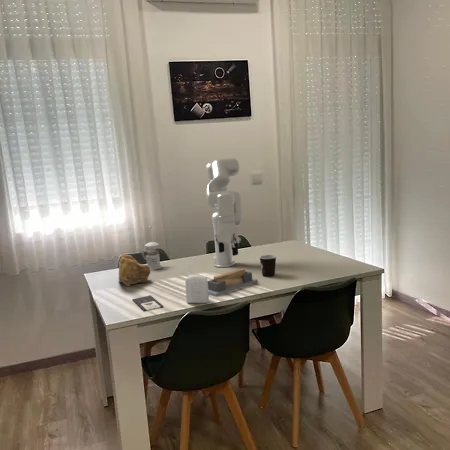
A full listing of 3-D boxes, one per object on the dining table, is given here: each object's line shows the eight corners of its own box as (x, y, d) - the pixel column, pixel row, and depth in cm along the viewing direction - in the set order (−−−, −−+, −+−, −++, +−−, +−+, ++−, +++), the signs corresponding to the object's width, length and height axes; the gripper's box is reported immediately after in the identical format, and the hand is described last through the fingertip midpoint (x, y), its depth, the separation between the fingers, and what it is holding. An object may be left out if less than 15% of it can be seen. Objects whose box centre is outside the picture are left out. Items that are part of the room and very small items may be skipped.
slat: (214, 288, 220) (213, 276, 219) (241, 279, 232) (240, 268, 231) (218, 289, 218) (217, 277, 217) (245, 280, 230) (244, 269, 229)
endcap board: (202, 292, 220) (201, 281, 219) (243, 278, 238) (243, 268, 237) (215, 296, 212) (215, 285, 212) (257, 281, 231) (257, 271, 230)
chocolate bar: (150, 295, 219) (163, 305, 203) (150, 297, 219) (163, 307, 203) (132, 299, 215) (143, 310, 199) (132, 301, 215) (143, 312, 199)
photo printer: (209, 300, 208) (208, 274, 206) (208, 303, 204) (206, 276, 202) (187, 300, 210) (185, 274, 207) (185, 303, 205) (183, 277, 203)
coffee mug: (276, 277, 236) (275, 258, 234) (259, 277, 238) (258, 259, 236) (278, 271, 247) (277, 253, 245) (262, 271, 249) (261, 253, 247)
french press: (157, 269, 266) (153, 227, 262) (139, 269, 270) (135, 227, 265) (164, 265, 275) (161, 224, 271) (147, 264, 279) (143, 224, 275)
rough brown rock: (151, 288, 235) (151, 259, 233) (118, 289, 231) (117, 260, 229) (148, 277, 257) (148, 251, 255) (118, 278, 253) (118, 252, 252)
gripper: (208, 218, 223) (211, 252, 227) (233, 222, 211) (235, 258, 214) (220, 216, 228) (222, 249, 232) (244, 219, 216) (246, 254, 219)
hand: (228, 253), depth 223 cm, fingers open, 9 cm apart
